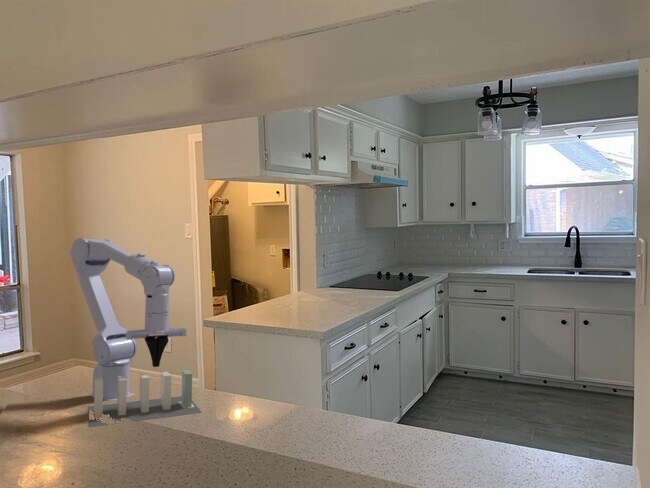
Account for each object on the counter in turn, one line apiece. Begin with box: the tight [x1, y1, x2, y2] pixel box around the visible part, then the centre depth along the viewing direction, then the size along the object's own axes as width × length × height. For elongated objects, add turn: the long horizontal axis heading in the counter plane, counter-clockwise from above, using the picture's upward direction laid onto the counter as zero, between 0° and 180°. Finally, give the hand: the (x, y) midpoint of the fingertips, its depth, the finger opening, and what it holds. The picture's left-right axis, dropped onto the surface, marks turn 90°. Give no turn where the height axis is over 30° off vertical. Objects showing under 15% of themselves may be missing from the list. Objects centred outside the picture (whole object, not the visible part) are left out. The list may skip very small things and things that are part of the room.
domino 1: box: [93, 378, 104, 418], centre depth 114 cm, size 2×5×8 cm, turn 26°
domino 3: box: [138, 373, 150, 413], centre depth 119 cm, size 2×5×8 cm, turn 26°
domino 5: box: [181, 369, 193, 407], centre depth 123 cm, size 2×5×8 cm, turn 24°
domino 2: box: [116, 375, 127, 415], centre depth 117 cm, size 2×5×8 cm, turn 26°
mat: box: [87, 395, 203, 428], centre depth 119 cm, size 24×17×1 cm
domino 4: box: [160, 371, 172, 410], centre depth 121 cm, size 2×5×8 cm, turn 26°
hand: (155, 366), depth 126 cm, fingers closed
